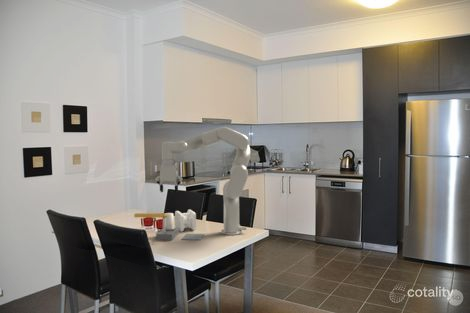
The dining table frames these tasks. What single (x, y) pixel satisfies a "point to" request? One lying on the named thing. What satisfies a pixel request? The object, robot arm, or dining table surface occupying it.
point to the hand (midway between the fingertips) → (168, 192)
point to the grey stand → (166, 233)
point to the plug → (170, 222)
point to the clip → (150, 215)
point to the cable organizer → (185, 220)
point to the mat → (193, 237)
